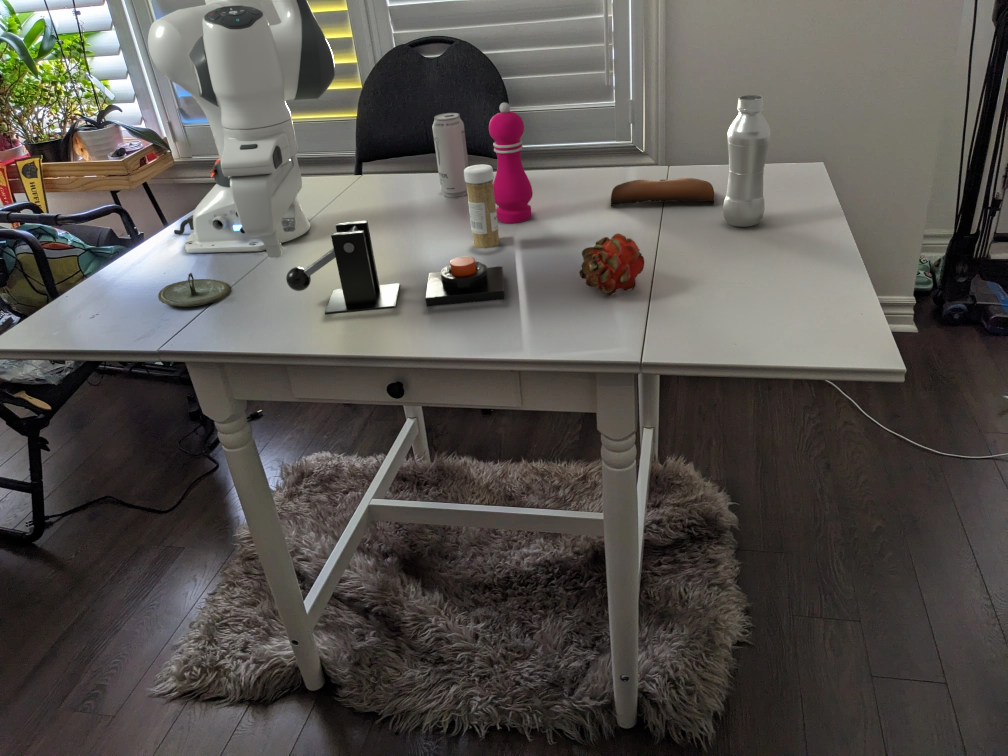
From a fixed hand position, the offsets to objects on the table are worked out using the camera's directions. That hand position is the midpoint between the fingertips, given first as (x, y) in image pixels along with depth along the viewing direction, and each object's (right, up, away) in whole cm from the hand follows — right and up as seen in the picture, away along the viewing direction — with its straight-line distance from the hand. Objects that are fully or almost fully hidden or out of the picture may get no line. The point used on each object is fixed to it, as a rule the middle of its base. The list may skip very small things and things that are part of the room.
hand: (283, 242), depth 112 cm
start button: (+25, -4, +2) cm, 26 cm away
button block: (+25, -7, +4) cm, 27 cm away
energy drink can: (+21, +18, +48) cm, 55 cm away
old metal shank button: (-16, -7, +11) cm, 21 cm away
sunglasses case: (+59, +13, +32) cm, 69 cm away
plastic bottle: (+70, +6, +19) cm, 73 cm away
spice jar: (+28, +2, +20) cm, 34 cm away
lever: (+6, -4, +2) cm, 8 cm away
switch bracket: (+11, -8, +5) cm, 14 cm away
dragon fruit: (+46, -6, +2) cm, 47 cm away
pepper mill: (+33, +10, +32) cm, 47 cm away
